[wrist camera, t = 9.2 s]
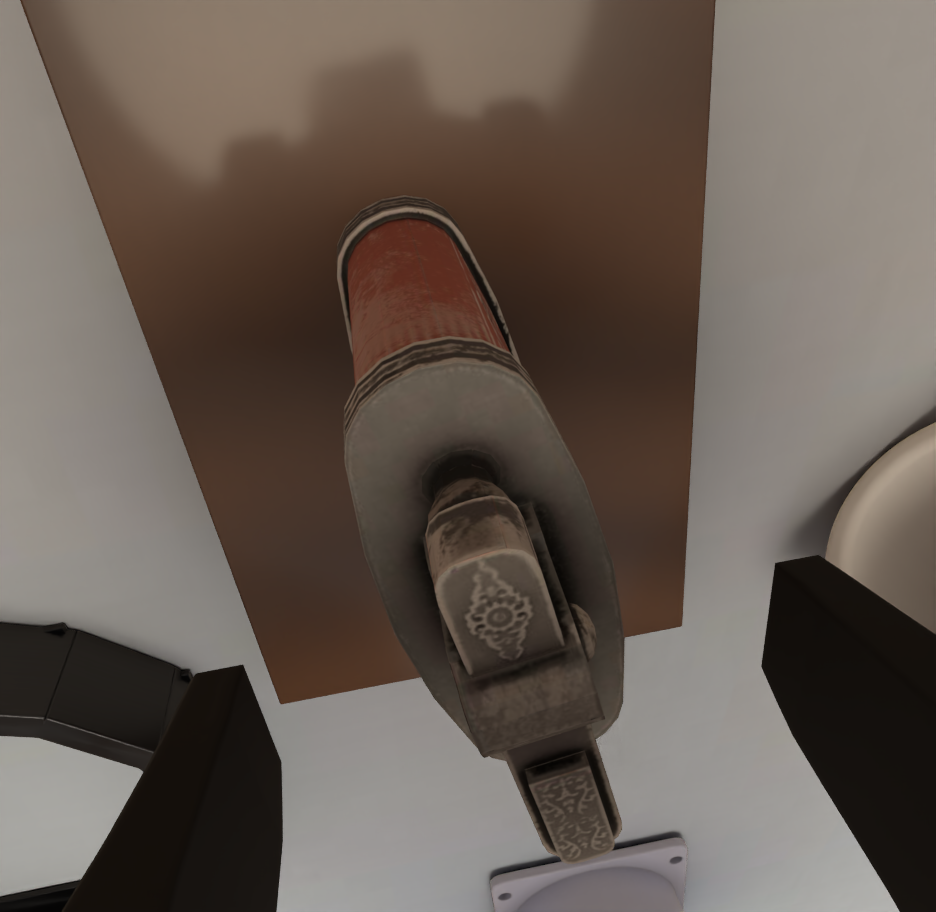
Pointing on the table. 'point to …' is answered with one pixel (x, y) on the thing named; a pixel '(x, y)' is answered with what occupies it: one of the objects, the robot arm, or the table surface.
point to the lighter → (479, 520)
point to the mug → (893, 528)
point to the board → (360, 185)
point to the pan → (82, 707)
